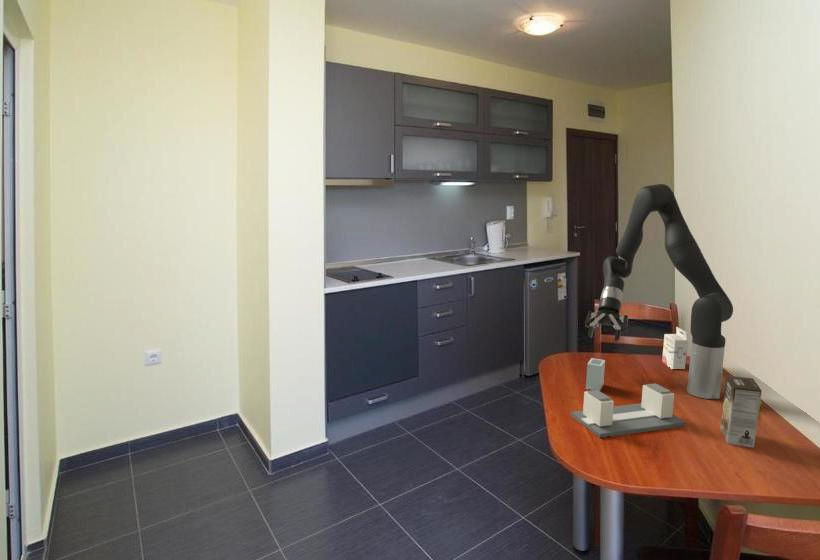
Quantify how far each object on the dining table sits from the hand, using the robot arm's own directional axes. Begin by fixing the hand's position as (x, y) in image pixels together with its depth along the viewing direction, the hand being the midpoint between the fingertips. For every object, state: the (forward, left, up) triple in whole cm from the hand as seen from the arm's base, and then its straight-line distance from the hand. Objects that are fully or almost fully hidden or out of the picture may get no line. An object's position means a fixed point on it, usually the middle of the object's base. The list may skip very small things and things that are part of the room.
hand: (603, 338), depth 173 cm
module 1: (-6, +40, -13) cm, 43 cm away
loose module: (0, +11, -14) cm, 18 cm away
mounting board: (-13, +33, -14) cm, 38 cm away
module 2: (-20, +26, -13) cm, 35 cm away
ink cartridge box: (-22, -26, -15) cm, 37 cm away
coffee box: (-40, +29, -14) cm, 52 cm away
